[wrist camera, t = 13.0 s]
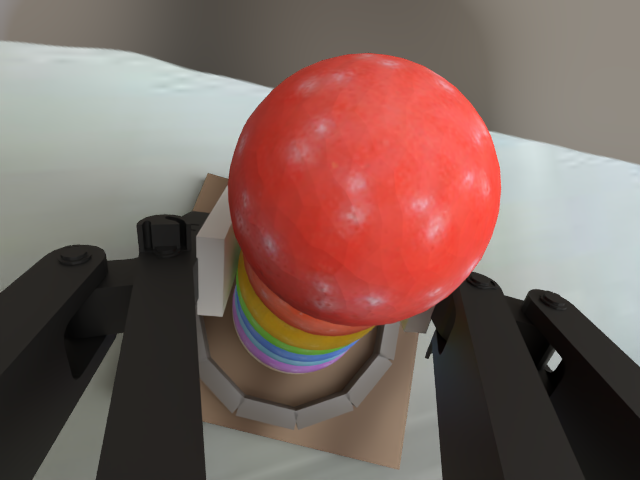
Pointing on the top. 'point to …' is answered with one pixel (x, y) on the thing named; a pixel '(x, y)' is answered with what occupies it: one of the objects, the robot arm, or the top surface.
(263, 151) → the stacking toy
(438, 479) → the top surface
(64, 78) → the top surface
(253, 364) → the collar board
